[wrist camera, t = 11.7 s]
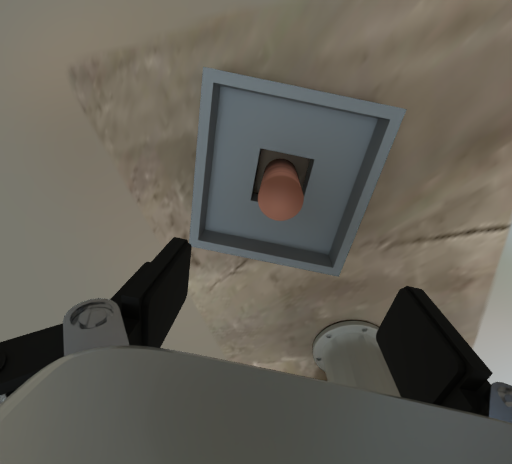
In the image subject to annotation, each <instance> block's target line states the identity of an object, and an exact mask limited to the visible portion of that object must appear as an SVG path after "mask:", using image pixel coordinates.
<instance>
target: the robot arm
mask: <svg viewBox="0 0 512 464" xmlns="http://www.w3.org/2000/svg"><path fill="white" fill-rule="evenodd" d="M190 258H191V244H189V243H188V241H187V240H186V239H181V238H176V237H174V238H173V239H172V240H171V241H170V242H169V243H168V244H167V245H166V246H165V247H164V249H163V250H162V251H161V252H160V253H159V254H158V255H157V256H156V257H155V259H154V260H153V261H152V262H146V263H145V264H144V265H142V266H141V268H140V269H139V270H138V271H137V272H136V273H135V274H134V275H133V276H132V277H131V278H130V279H129V280H128V281H127V282H126V283H125V285H123V286H122V288H121V289H120V290H119V291H118V292H117V293H116V294H115V295H114V296H113V297H112V298H111V299H110V300H108V299H101V298H100V299H99V298H98V299H90V300H87V301H84V302H81V303H79V304H77V305H75V306H74V307H72V308H71V309H70V310H69V311H68V312H67V313H66V315H65V316H64V320H63V324H60V325H56V326H53V327H50V328H46V329H43V330H40V331H37V332H33V333H30V334H26V335H23V336H20V337H17V338H13V339H10V340H7V341H3V342H0V464H512V386H511V385H508V384H505V383H502V382H495V383H493V384H492V385H491V384H490V383H489V382H488V381H487V379H488V378H489V377H490V376H491V375H492V372H491V371H490V370H489V369H488V367H487V366H486V365H485V364H484V362H483V361H482V360H481V359H480V358H479V357H478V355H477V354H476V353H475V352H474V351H473V349H472V348H471V347H470V346H469V345H468V343H467V342H466V341H465V340H464V339H463V337H462V336H461V335H460V334H459V333H458V331H457V330H456V329H455V328H454V327H453V326H452V324H451V323H450V322H449V321H448V320H447V318H446V317H445V316H444V315H443V314H442V312H441V311H440V310H439V309H438V308H437V306H436V305H435V304H434V303H433V302H432V300H431V299H430V298H429V297H428V296H427V295H426V293H425V292H424V291H423V290H422V289H419V288H414V287H409V286H406V287H404V288H402V289H400V290H399V292H398V294H397V295H396V297H395V299H394V301H393V303H392V305H391V307H390V309H389V310H388V312H387V314H386V316H385V318H384V320H383V322H382V323H381V325H380V327H377V326H375V325H373V324H370V323H367V322H362V321H345V322H340V323H337V324H334V325H331V326H330V327H328V328H326V329H324V330H323V331H322V332H321V333H320V334H319V335H318V336H317V337H316V339H315V341H314V343H313V357H314V360H315V362H316V364H317V365H318V366H319V368H321V369H322V370H323V371H324V372H326V377H327V381H324V380H319V379H314V378H309V377H305V376H300V375H295V374H290V373H286V372H281V371H276V370H271V369H266V368H261V367H256V366H252V365H247V364H242V363H237V362H232V361H227V360H222V359H217V358H212V357H207V356H202V355H197V354H192V353H186V352H180V351H175V350H169V349H163V348H160V347H161V345H162V343H163V341H164V339H165V337H166V335H167V333H168V332H169V330H170V328H171V326H172V324H173V322H174V320H175V319H176V317H177V315H178V313H179V311H180V309H181V307H182V305H183V303H184V301H185V299H186V296H187V291H188V280H189V269H190Z"/></svg>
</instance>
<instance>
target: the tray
mask: <svg viewBox="0 0 512 464" xmlns="http://www.w3.org/2000/svg"><path fill="white" fill-rule="evenodd" d="M405 112H406V109H403V108H398V107H393V106H388V105H383V104H379V103H374V102H369V101H364V100H360V99H355V98H350V97H345V96H340V95H336V94H331V93H326V92H321V91H317V90H312V89H307V88H302V87H298V86H293V85H288V84H283V83H278V82H274V81H269V80H264V79H259V78H255V77H250V76H245V75H240V74H235V73H231V72H226V71H221V70H216V69H212V68H207V67H203V76H202V89H201V101H200V114H199V126H198V139H197V151H196V164H195V176H194V189H193V201H192V214H191V226H190V239H189V244H191V246H192V247H197V248H202V249H207V250H211V251H216V252H221V253H226V254H231V255H236V256H241V257H246V258H250V259H255V260H260V261H265V262H270V263H275V264H280V265H285V266H290V267H294V268H299V269H304V270H309V271H314V272H319V273H324V274H329V275H333V276H338V277H339V275H340V272H341V270H342V267H343V265H344V262H345V260H346V257H347V255H348V253H349V250H350V248H351V245H352V243H353V240H354V238H355V235H356V233H357V230H358V228H359V225H360V223H361V220H362V218H363V216H364V213H365V211H366V208H367V206H368V203H369V201H370V198H371V196H372V193H373V191H374V188H375V186H376V183H377V181H378V178H379V176H380V174H381V171H382V169H383V166H384V164H385V161H386V159H387V156H388V154H389V151H390V149H391V146H392V144H393V141H394V139H395V137H396V134H397V132H398V129H399V127H400V124H401V122H402V119H403V117H404V114H405ZM261 148H262V149H267V150H271V151H276V152H281V153H286V154H291V155H295V156H300V157H305V158H310V162H309V166H308V170H307V173H306V177H305V180H304V184H303V188H302V191H303V196H304V202H303V205H302V208H301V210H300V211H299V212H298V214H297V215H295V216H294V217H293V218H291V219H288V220H284V221H277V220H273V219H270V218H269V217H267V216H266V215H265V214H264V213H263V212H262V211H261V209H260V207H259V204H258V194H254V193H253V190H254V185H255V179H256V174H257V169H258V163H259V158H260V153H261Z"/></svg>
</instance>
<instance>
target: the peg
mask: <svg viewBox="0 0 512 464" xmlns="http://www.w3.org/2000/svg"><path fill="white" fill-rule="evenodd" d="M303 202H304V196H303V191H302V188H301V185H300V182H299V179H298V175H297V172H296V169H295V167H294V165H293V164H292V163H291V162H290V161H288V160H286V159H275V160H273V161H271V162H270V163H269V164H268V165H267V166H266V168H265V171H264V175H263V179H262V183H261V187H260V190H259V194H258V204H259V207H260V209H261V211H262V212H263V213H264V214H265V215H266V216H267V217H269V218H270V219H273V220H277V221H284V220H288V219H291V218H293V217H294V216H295V215H297V214H298V212H299V211H300V210H301V208H302V205H303Z"/></svg>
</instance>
